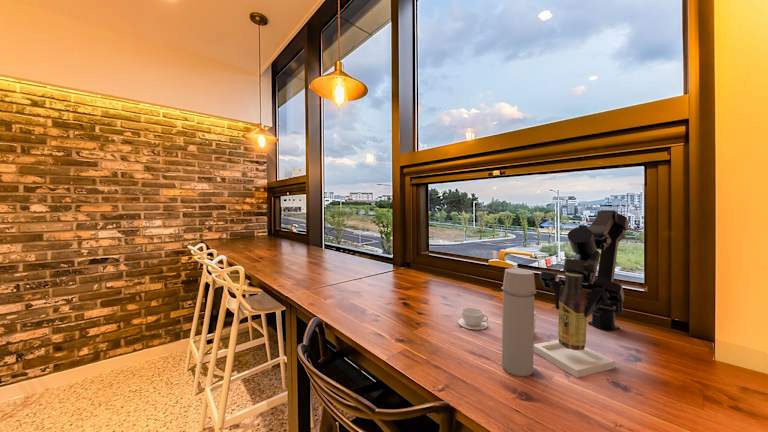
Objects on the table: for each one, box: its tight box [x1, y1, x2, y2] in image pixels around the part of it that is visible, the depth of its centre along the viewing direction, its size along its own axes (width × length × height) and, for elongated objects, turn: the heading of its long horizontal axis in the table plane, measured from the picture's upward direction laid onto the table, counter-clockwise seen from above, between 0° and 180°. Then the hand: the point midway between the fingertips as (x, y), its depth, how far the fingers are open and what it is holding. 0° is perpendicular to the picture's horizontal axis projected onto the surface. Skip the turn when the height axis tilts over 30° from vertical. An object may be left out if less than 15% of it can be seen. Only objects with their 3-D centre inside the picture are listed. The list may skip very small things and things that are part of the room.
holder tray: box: [533, 339, 616, 378], centre depth 75 cm, size 13×13×2 cm
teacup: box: [457, 307, 489, 331], centre depth 97 cm, size 10×10×5 cm
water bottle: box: [500, 267, 537, 378], centre depth 70 cm, size 9×8×25 cm
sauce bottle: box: [557, 271, 588, 350], centre depth 74 cm, size 7×6×20 cm
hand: (570, 312), depth 73 cm, fingers closed on sauce bottle, 6 cm apart
